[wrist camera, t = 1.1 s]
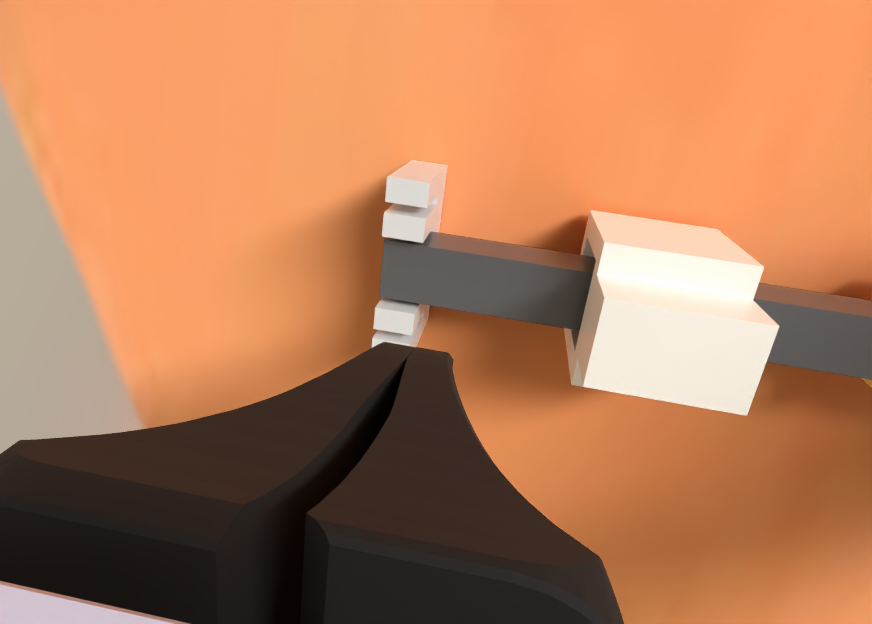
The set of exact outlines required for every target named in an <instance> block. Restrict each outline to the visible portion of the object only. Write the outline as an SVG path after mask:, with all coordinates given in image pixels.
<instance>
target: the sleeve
mask: <svg viewBox="0 0 872 624" xmlns="http://www.w3.org/2000/svg"><path fill="white" fill-rule="evenodd" d="M580 255H585V256H591V257H595V260H596V262H595V267H594V271H593V275H592V280H591V284H590V288H589V293H588V297H587V301H586V306H585V310H584V314H583V319H582V323H581V327H580V331H579V330H573V329H567V328H564V333H565V341H566V349H567V356H568V364H569V371H570V379H571V385H575V386H581V387H587V388H592V389H598V390H604V391H609V392H615V393H621V394H626V395H632V396H638V397H643V398H649V399H655V400H660V401H666V402H672V403H677V404H683V405H689V406H694V407H700V408H706V409H711V410H718V411H723V412H729V413H735V414H740V415H746V416H747V414H748V411H749V409H750V406H751V403H752V401H753V398H754V395H755V392H756V390H757V387H758V384H759V381H760V379H761V376H762V373H763V370H764V368H765V365H766V362H767V359H768V357H769V354H770V351H771V348H772V346H773V343H774V340H775V337H776V335H777V332H778V329H779V325H778V324H777V323H776V322H775V321H774V320H773V319H772V318H771V317H770V316H769V315H768V314H767V313H766V312H765V311H764V310H763V309H762V308H761V307H760V306H759V305H758V304H757V303H756V302H755V301H753V299H754V296H755V293H756V290H757V287H758V284H759V281H760V278H761V275H762V272H763V269H764V266H763V265H761V264H760V263H759V262H758V261H756V260H755V259H754V258H753V257H751V256H750V255H749V254H748V253H746V252H745V251H744V250H743V249H741V248H740V247H739V246H738V245H736V244H735V243H734V242H733V241H731V240H730V239H729V238H728V237H726V236H725V235H724V234H723V233H721V232H720V231H719V230H718V229H713V228H707V227H700V226H693V225H687V224H680V223H673V222H667V221H660V220H653V219H647V218H640V217H633V216H627V215H620V214H613V213H607V212H600V211H593V210H590V212H589V216H588V221H587V226H586V230H585V235H584V239H583V244H582V248H581V253H580Z"/></svg>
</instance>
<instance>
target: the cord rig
mask: <svg viewBox="0 0 872 624" xmlns="http://www.w3.org/2000/svg"><path fill="white" fill-rule="evenodd" d="M447 167H448V165H444V164H438V163H431V162H424V161H417V160H411V161H410V162H408V163H407V164H405V165H404V166H402V167H401V168H399V169H398V170H396V171H395V172H393V173H392V174H390V175H389V176H387V184H386V195H385V202H390V203H394V204H393V205H392V206H390V207H389V208H388V209H387V210H386V211H385V212H384V217H383V228H382V236H383V237H386V238H385V239H384V248H383V259H382V270H381V281H380V291H379V297H382V298H381V300H380V301H379V303H378V304H377V306H376V307H375V316H374V327H373V329H377V331H376V333H375V335H374V336H373V338H372V348H373V347H374V346H376V345H378V344H380V343H382V342H389V343H395V344H400V345H406V346H412V347H417V344H418V342H419V340H420V337H421V335H422V333H423V330H424V328H425V326H426V323H427V321H428V316H429V309H430V306H436V307H442V308H448V309H454V310H460V311H466V312H472V313H478V314H484V315H490V316H496V317H502V318H508V319H513V320H519V321H525V322H531V323H537V324H543V325H549V326H555V327H561V328H567V329H573V330H579V331H580V327H581V323H582V319H583V314H584V310H585V306H586V301H587V297H588V293H589V288H590V284H591V280H592V275H593V271H594V267H595V262H596V260H595V257H591V256H585V255H578V254H572V253H566V252H559V251H553V250H547V249H540V248H534V247H527V246H521V245H515V244H508V243H502V242H496V241H489V240H483V239H476V238H470V237H464V236H457V235H451V234H445V233H439V230H440V222H441V214H442V206H443V198H444V191H445V183H446V175H447ZM753 301H755V302H756V303H757V304H758V305H759V306H760V307H761V308H762V309H763V310H764V311H765V312H766V313H767V314H768V315H769V316H770V317H771V318H772V319H773V320H774V321H775V322H776V323H777V324H778V325H779V329H778V332H777V335H776V337H775V340H774V343H773V346H772V348H771V351H770V354H769V357H768V359H767V362H769V363H775V364H781V365H787V366H793V367H799V368H805V369H811V370H817V371H823V372H829V373H835V374H840V375H846V376H852V377H858V378H861V379H862V380H863V381H864V382H865V383H867V384H868V385H869V386H870V387H871V388H872V300H865V299H859V298H853V297H846V296H840V295H833V294H827V293H821V292H814V291H808V290H802V289H795V288H789V287H782V286H776V285H770V284H763V283H759V284H758V287H757V290H756V293H755V296H754V299H753Z"/></svg>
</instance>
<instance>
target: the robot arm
mask: <svg viewBox="0 0 872 624" xmlns="http://www.w3.org/2000/svg"><path fill="white" fill-rule="evenodd" d="M452 366H453V359H452V357H451V356H450V354H449V353H446V352H440V351H435V350H429V349H423V348H417V347H412V346H406V345H400V344H395V343H389V342H382V343H380V344H378V345H376V346H374V347H373V348H371V349H369V350H367V351H366V352H364V353H362V354H360V355H359V356H357V357H355V358H353V359H352V360H350V361H348V362H346V363H344V364H342V365H341V366H339V367H337V368H335V369H333V370H331V371H330V372H328V373H326V374H323V375H321V376H319V377H317V378H315V379H313V380H311V381H308V382H306V383H304V384H302V385H300V386H298V387H296V388H294V389H291V390H289V391H287V392H284V393H282V394H279V395H277V396H274V397H271V398H269V399H266V400H263V401H260V402H257V403H254V404H251V405H248V406H245V407H242V408H239V409H235V410H232V411H228V412H223V413H219V414H215V415H211V416H207V417H203V418H199V419H195V420H191V421H187V422H182V423H177V424H172V425H166V426H161V427H155V428H149V429H142V430H135V431H128V432H121V433H112V434H103V435H91V436H78V437H65V438H52V439H38V440H20V441H18V442H17V443H15V444H14V445H12V446H11V447H10V448H8V449H7V450H6V451H4V452H3V453H1V454H0V624H624V622H623V619H622V616H621V613H620V609H619V606H618V603H617V600H616V597H615V594H614V592H613V589H612V586H611V583H610V581H609V578H608V575H607V573H606V570H605V567H604V565H603V562H602V560H601V559H600V557H599V556H598V555H596V554H595V553H593V552H592V551H591V550H589V549H588V548H587V547H585V546H584V545H582V544H581V543H580V542H578V541H577V540H575V539H574V538H573V537H571V536H570V535H568V534H567V533H566V532H564V531H563V530H561V529H560V528H559V527H557V526H556V525H554V524H553V523H552V522H551V521H550V520H548V519H547V518H546V517H545V516H544V515H543V514H542V513H541V512H539V511H538V510H537V509H536V508H535V507H534V506H533V505H531V504H530V503H529V502H528V501H527V500H526V499H525V498H524V497H523V496H522V495H521V494H520V493H519V492H518V491H517V490H516V489H515V488H514V487H513V485H512V484H511V483H510V482H509V481H508V480H507V479H506V477H505V476H504V475H503V474H502V473H501V472H500V471H499V469H498V468H497V467H496V465H495V464H494V463H493V461H492V460H491V458H490V457H489V455H488V454H487V452H486V451H485V449H484V447H483V446H482V444H481V442H480V441H479V439H478V437H477V435H476V433H475V432H474V430H473V427H472V425H471V423H470V421H469V419H468V417H467V415H466V412H465V410H464V408H463V405H462V402H461V399H460V397H459V394H458V391H457V388H456V384H455V380H454V375H453V369H452Z"/></svg>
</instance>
